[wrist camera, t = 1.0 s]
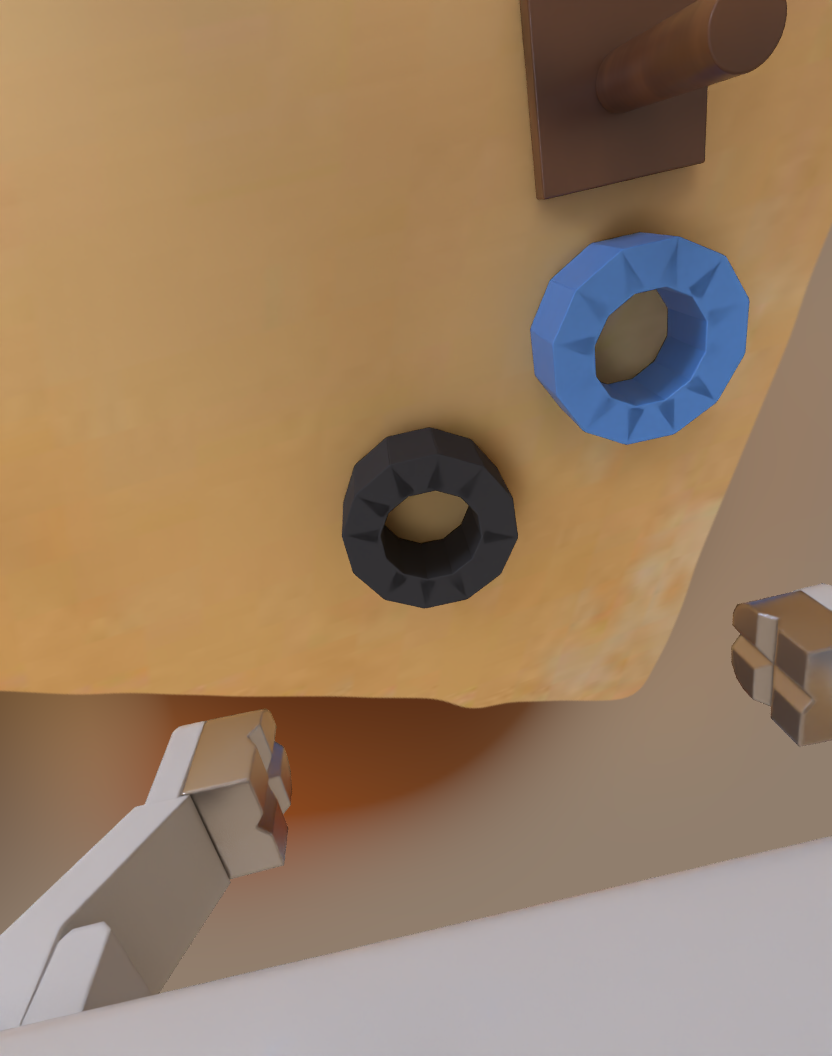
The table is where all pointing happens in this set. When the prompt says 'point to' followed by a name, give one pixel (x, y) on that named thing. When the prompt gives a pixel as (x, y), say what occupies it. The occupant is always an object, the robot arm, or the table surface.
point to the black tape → (434, 565)
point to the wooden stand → (632, 82)
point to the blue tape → (685, 357)
